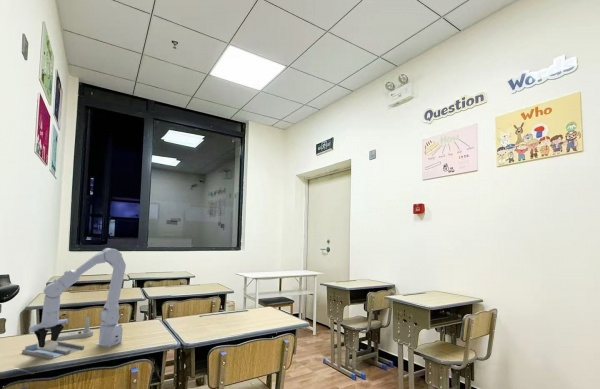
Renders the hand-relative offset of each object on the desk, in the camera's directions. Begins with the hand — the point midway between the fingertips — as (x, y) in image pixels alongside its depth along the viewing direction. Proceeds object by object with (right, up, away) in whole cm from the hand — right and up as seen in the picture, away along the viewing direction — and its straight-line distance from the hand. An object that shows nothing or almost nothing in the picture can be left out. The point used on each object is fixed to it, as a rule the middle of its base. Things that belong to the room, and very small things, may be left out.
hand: (47, 345), depth 139 cm
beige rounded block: (0, -2, 0) cm, 2 cm away
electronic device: (-4, -7, +22) cm, 24 cm away
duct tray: (0, -4, +3) cm, 5 cm away
